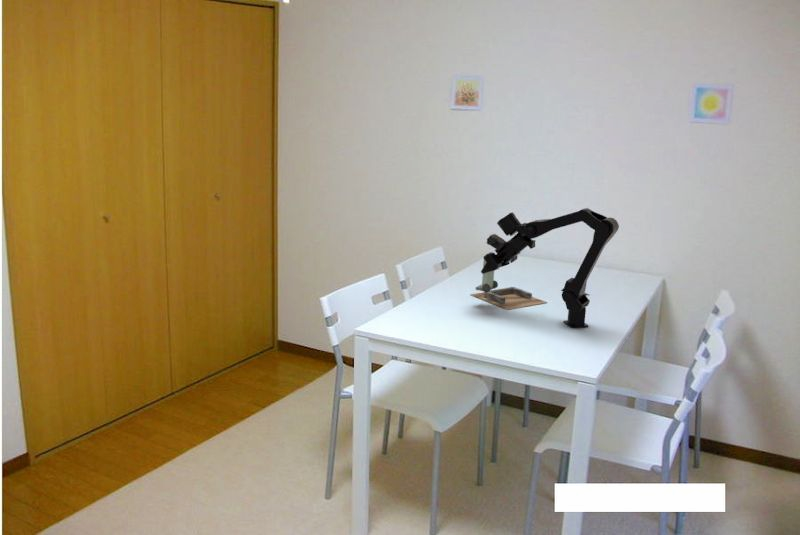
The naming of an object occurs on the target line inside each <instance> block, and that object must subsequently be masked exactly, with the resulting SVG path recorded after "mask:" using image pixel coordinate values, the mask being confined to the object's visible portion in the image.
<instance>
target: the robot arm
mask: <svg viewBox="0 0 800 535" xmlns="http://www.w3.org/2000/svg"><path fill="white" fill-rule="evenodd" d="M580 222H581V223H582V222H583V223H584V224H586V225H587V226H588V227H589V228H591V229H592V230H593V231H594V233H593V236H592V242H591V245H590V246H589V249H588V251H587V253H586V254H585V256H584V258H583V260H582V263H581V264H580V267H579V269H578V270H577V272H576V274H575V276H574V277H571V278H569V279H567V280H565V283H564V285H563V286H564V287H563V288H562V289H561V290H560V292H562V293H561V298H562V300H563V302H564V304H565V307H566V310H568V312H567V320H566V319H565V320H563V321H562V322H563V323H564V324H566V325H567V326H569V327H570V328H589V325H588V324H586V322H585V321H586V312H587V307H588V306H589V305H590V302H591V301H590V299H589V297H587V295H585V294H584V293H586V289H587V282H588V279H589V277H590V275H591V273H592V272H593V270H594V268H595V266H596V264H597V262H598V260H599V258H600V256H601V255H602V253H603V250H604V249H605V247H606V245H607V244H608V243H609V242H610V241H611V240H612V239H613V237H614V236H615V234H617V232H618V230H619V227H620V225H619V222H618V221H617V219H615V218H613V217H607V216H605V215H604V214H601V213H597V212H596V211H593V210H592V209H590V208H588V207H587V208H581V209H580V210H578V211H575V212H570V213H567V214H564V215H560V216H557V217H554V218H546V219H545V218H544V219H535V220H533V221H530V222H524V223H521V221H520V220H519V219H518V218H517V216H516V214H515V213H514V212H513V211H512V212H509V213H508V214H507V215H505V216H504V217H502V218H500V219H499V220H498V221H497V222H496V224H497V226H499V228H500V229H501V231H503V233H504V234H505V236H510V237H511V238H510V239H509V240H507V241H506V240H505V239H504V238H502V237H500V236H499V235H498V234H495V233H493V234H490V235H489V237H488V238H486V245H488V246H491V247H492V248H494V251H495V252H493V251H491V252H488V253H486V254H485V255H484V256H483V260H484V259H485V261H486V262H487V263H486V264H485V266H484V267H483V266H482V268H481V271H480V273H481V274H482V275H483V274H484V273H487V272H490V271H494V272H496V271H497V270H499V269H500V268H503V267H505V266H508V265H510V264H512V263H514V262H516V261H517V260H518V255H520V254H521V252H522V251H523V250H525V248H527V247H528V248H529V249H530V250H531V249H534V248H536V240H535V239H536V238H539V237H540V236H543V235H545V234H548V233H549V232H551V231H553V230H557V229H560V228H562V227H567V226H570V225H574V224H577V223H580ZM512 236H513V237H512Z"/></svg>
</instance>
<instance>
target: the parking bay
mask: <svg viewBox="0 0 800 535" xmlns="http://www.w3.org/2000/svg"><path fill="white" fill-rule="evenodd" d="M470 296H471V297H475V298H476V299H478V300H482V301H484V302H486V303H489V304H492V305H494V306H496V307H499V308H501V309H504V310H506V311H510V310H516V309H521V308H525V307H526V308H527V307H532V306H538V305H543V304H547V303H548V301H545V300H541V299H539V298H537V297H534V296H533V293H532V292H529V291H526V290H523V289H522V288H521V289H520V288H519V287H516V286H511V287H504V288H498V289H497V288H496V289H491V290H490V291H489V292H484V291H481V292H477V293H470Z"/></svg>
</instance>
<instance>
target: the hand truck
mask: <svg viewBox="0 0 800 535" xmlns="http://www.w3.org/2000/svg"><path fill="white" fill-rule="evenodd" d="M482 262H483V265H482V268H483V267H484V266H485V264H486V263H487V262H486V261H485V259H484V258H483V261H482ZM481 279H482V281H481V284H479V285H477V286H475V290H476V291H478V292H479V291H480V292H489V291H490V290H496V289H497V288H498V286H499V283H498V281H497V280H494V279H495V271H490V272H487V273H484V274H482V277H481Z"/></svg>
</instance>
